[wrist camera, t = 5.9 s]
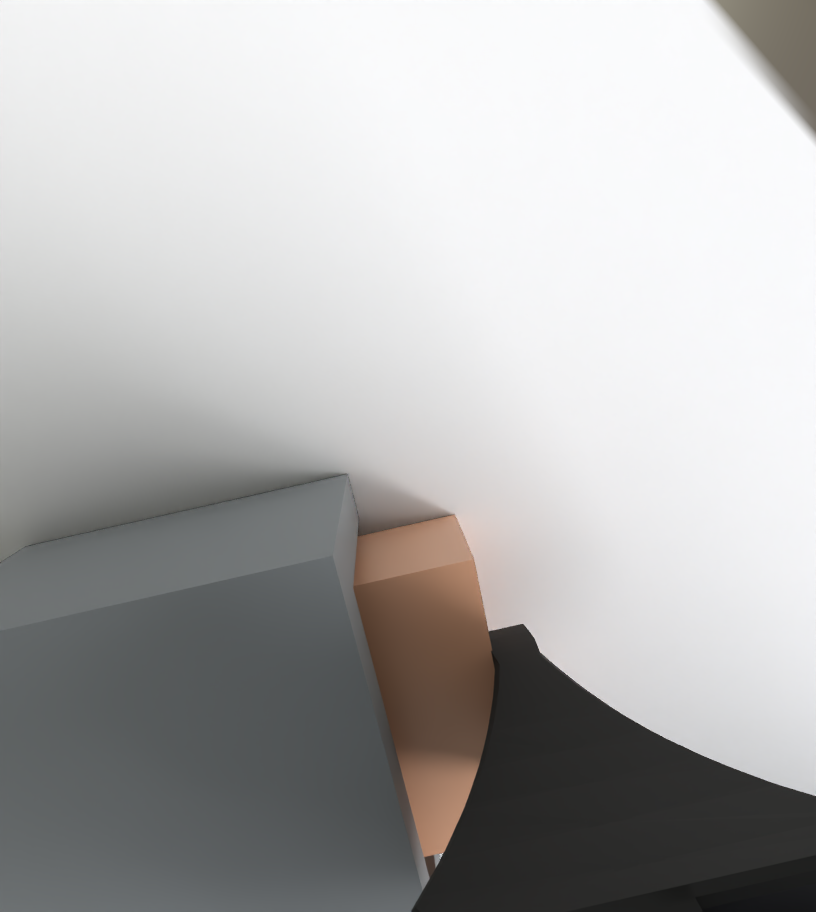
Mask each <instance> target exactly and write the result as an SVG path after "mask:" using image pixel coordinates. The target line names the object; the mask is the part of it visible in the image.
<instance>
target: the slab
mask: <svg viewBox="0 0 816 912" xmlns="http://www.w3.org/2000/svg"><path fill="white" fill-rule="evenodd" d="M353 589H354V593H355V597H356V601H357V605H358V608H359V612H360V616H361V620H362V624H363V627H364V631H365V635H366V639H367V643H368V646H369V650H370V654H371V658H372V662H373V665H374V669H375V673H376V677H377V681H378V684H379V688H380V692H381V696H382V700H383V703H384V707H385V711H386V715H387V719H388V722H389V726H390V730H391V734H392V738H393V741H394V745H395V749H396V753H397V757H398V760H399V764H400V768H401V772H402V776H403V779H404V783H405V787H406V791H407V795H408V798H409V802H410V806H411V810H412V814H413V817H414V821H415V825H416V829H417V833H418V836H419V840H420V844H421V848H422V852H423V855H424V857H427V856H431V855H435V854H440V853H444V851H445V849H446V847H447V845H448V843H449V841H450V838H451V836H452V834H453V832H454V830H455V827H456V825H457V823H458V821H459V819H460V816H461V814H462V812H463V809H464V807H465V804H466V802H467V799H468V796H469V794H470V791H471V788H472V785H473V782H474V779H475V776H476V773H477V770H478V766H479V763H480V759H481V756H482V752H483V748H484V744H485V740H486V735H487V731H488V725H489V719H490V713H491V707H492V700H493V691H494V675H495V668H494V663H493V658H492V653H491V651H492V647H491V642H490V637H489V632H488V627H487V622H486V617H485V612H484V607H483V602H482V597H481V592H480V587H479V582H478V577H477V572H476V567H475V562H474V558H473V556H472V554H471V551H470V549H469V547H468V544H467V542H466V539H465V537H464V535H463V532H462V530H461V528H460V525H459V523H458V521H457V518H456V516H455V515H450V516H446V517H441V518H437V519H432V520H428V521H424V522H419V523H415V524H410V525H406V526H401V527H397V528H392V529H388V530H383V531H379V532H374V533H370V534H366V535H361V536H357V548H356V560H355V572H354V584H353Z"/></svg>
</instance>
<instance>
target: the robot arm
mask: <svg viewBox="0 0 816 912" xmlns="http://www.w3.org/2000/svg"><path fill="white" fill-rule="evenodd" d="M489 637H490V642H491V647H492V651H491V653H492V658H493V663H494V668H495V675H494V691H493V700H492V707H491V713H490V719H489V725H488V731H487V735H486V740H485V744H484V748H483V752H482V756H481V759H480V763H479V766H478V770H477V773H476V776H475V779H474V782H473V785H472V788H471V791H470V794H469V796H468V799H467V802H466V804H465V807H464V809H463V812H462V814H461V816H460V819H459V821H458V823H457V825H456V827H455V830H454V832H453V834H452V836H451V838H450V841H449V843H448V845H447V847H446V849H445V851H444V853H443V855H442V857H441V859H440V861H439V863H438V865H437V867H436V868H435V870H434V872H433V874H432V875H431V877H430V879H429V881H428V882H427V884H426V886H425V888H424V889H423V891H422V893H421V895H420V896H419V898H418V900H417V901H416V903H415V905H414V907H413V908H412V910H411V912H816V796H813V795H810V794H806V793H803V792H800V791H797V790H793V789H790V788H787V787H783V786H780V785H777V784H774V783H771V782H768V781H765V780H763V779H760V778H757V777H755V776H752V775H749V774H747V773H744V772H741V771H739V770H736V769H733V768H731V767H728V766H726V765H723V764H721V763H718V762H716V761H714V760H711V759H709V758H707V757H704V756H702V755H700V754H697V753H695V752H693V751H691V750H689V749H687V748H685V747H683V746H680V745H678V744H676V743H674V742H672V741H670V740H668V739H666V738H664V737H662V736H660V735H658V734H656V733H654V732H652V731H650V730H648V729H647V728H645V727H643V726H641V725H640V724H638V723H636V722H634V721H633V720H631V719H629V718H627V717H626V716H624V715H622V714H621V713H619V712H618V711H616V710H615V709H613V708H612V707H610V706H609V705H607V704H606V703H604V702H603V701H601V700H600V699H598V698H597V697H596V696H594V695H593V694H591V693H590V692H588V691H587V690H586V689H584V688H583V687H582V686H580V685H579V684H578V683H576V682H575V681H574V680H573V679H571V678H570V677H569V676H568V675H566V674H565V673H564V672H563V671H561V670H560V669H559V668H558V667H556V666H555V665H554V664H553V663H552V662H550V661H549V660H548V659H547V658H546V657H545V656H544V655H542V654H541V653H540V652H539V649H538V646H537V644H536V641H535V639H534V638H533V636H532V635H531V633H530V632H529V631H528V629H527V628H526V627H525V626H524V625H523V624H520V625H516V626H511V627H507V628H502V629H498V630H494V631H489Z"/></svg>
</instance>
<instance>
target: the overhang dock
mask: <svg viewBox="0 0 816 912" xmlns="http://www.w3.org/2000/svg"><path fill="white" fill-rule="evenodd" d="M358 524H359V517H358V513H357V509H356V505H355V501H354V497H353V493H352V489H351V485H350V481H349V477H348V474H346V475H341V476H337V477H332V478H328V479H324V480H319V481H315V482H310V483H306V484H301V485H297V486H292V487H288V488H284V489H279V490H275V491H270V492H266V493H261V494H257V495H253V496H248V497H244V498H239V499H235V500H230V501H226V502H221V503H217V504H213V505H208V506H204V507H199V508H195V509H190V510H186V511H181V512H177V513H173V514H168V515H164V516H159V517H155V518H150V519H146V520H141V521H137V522H133V523H128V524H124V525H119V526H115V527H110V528H106V529H101V530H97V531H93V532H88V533H84V534H79V535H75V536H70V537H66V538H61V539H57V540H53V541H48V542H44V543H39V544H35V545H30V546H26V547H24V548H23V549H21V550H19V551H18V552H16V553H15V554H13V555H11V556H10V557H8V558H7V559H5V560H4V561H2V562H0V912H411V910H412V908H413V907H414V905H415V903H416V901H417V900H418V898H419V896H420V895H421V893H422V891H423V889H424V888H425V886H426V884H427V882H428V881H429V879H430V877H431V875H432V874H433V872H434V870H435V868H436V867H437V865H438V863H439V861H440V858H439V854H435V855H431V856H427V857H424V855H423V852H422V848H421V844H420V840H419V836H418V833H417V829H416V825H415V821H414V817H413V814H412V810H411V806H410V802H409V798H408V795H407V791H406V787H405V783H404V779H403V776H402V772H401V768H400V764H399V760H398V757H397V753H396V749H395V745H394V741H393V738H392V734H391V730H390V726H389V722H388V719H387V715H386V711H385V707H384V703H383V700H382V696H381V692H380V688H379V684H378V681H377V677H376V673H375V669H374V665H373V662H372V658H371V654H370V650H369V646H368V643H367V639H366V635H365V631H364V627H363V624H362V620H361V616H360V612H359V608H358V605H357V601H356V597H355V593H354V589H353V584H354V572H355V560H356V548H357V536H358Z"/></svg>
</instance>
